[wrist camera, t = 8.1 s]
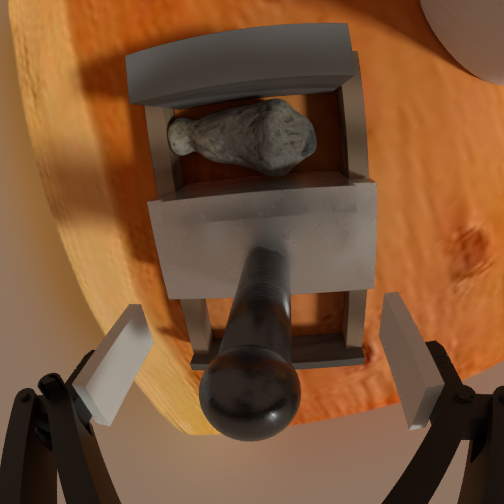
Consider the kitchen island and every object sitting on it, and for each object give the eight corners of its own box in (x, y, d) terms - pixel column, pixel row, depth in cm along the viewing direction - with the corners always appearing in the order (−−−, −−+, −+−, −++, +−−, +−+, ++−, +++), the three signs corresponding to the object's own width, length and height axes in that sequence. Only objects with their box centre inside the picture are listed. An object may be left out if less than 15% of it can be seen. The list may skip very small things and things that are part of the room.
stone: (175, 150, 26) (201, 224, 22) (152, 105, 21) (175, 180, 17) (280, 110, 26) (325, 173, 23) (275, 61, 21) (330, 121, 18)
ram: (166, 186, 25) (9, 287, 9) (361, 169, 23) (498, 261, 7) (183, 277, 28) (90, 435, 12) (362, 266, 26) (435, 439, 10)
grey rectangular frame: (153, 81, 22) (96, 66, 14) (350, 58, 20) (383, 25, 12) (201, 346, 32) (178, 409, 24) (356, 339, 30) (373, 405, 22)
